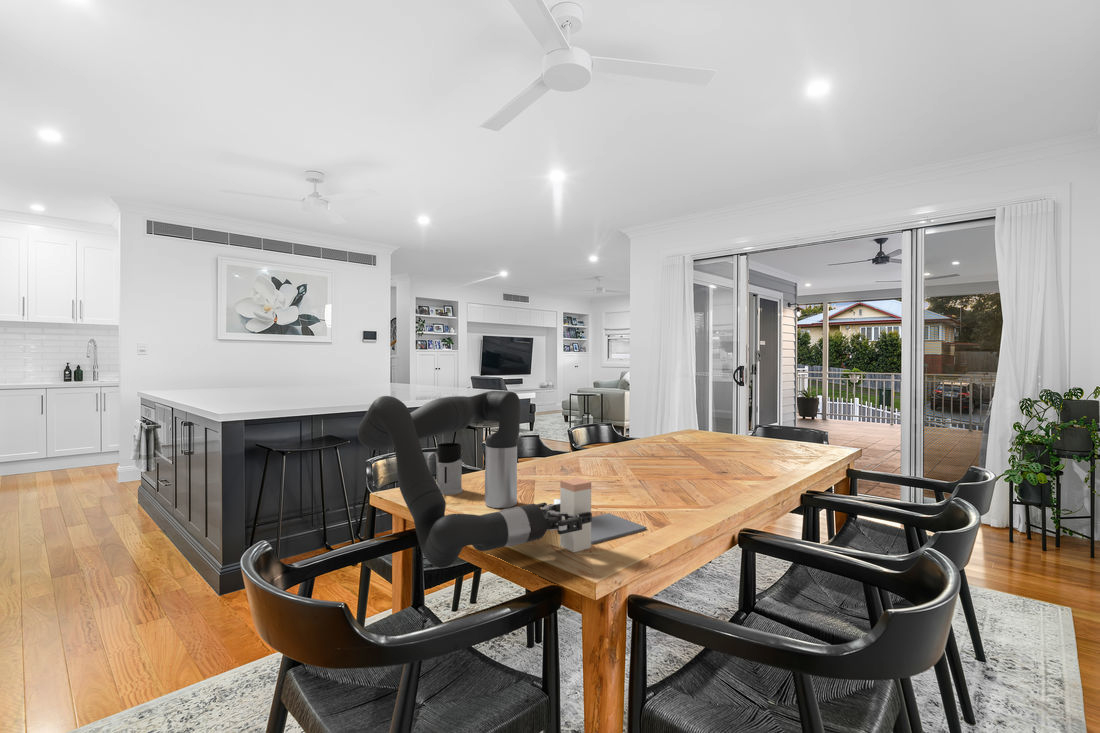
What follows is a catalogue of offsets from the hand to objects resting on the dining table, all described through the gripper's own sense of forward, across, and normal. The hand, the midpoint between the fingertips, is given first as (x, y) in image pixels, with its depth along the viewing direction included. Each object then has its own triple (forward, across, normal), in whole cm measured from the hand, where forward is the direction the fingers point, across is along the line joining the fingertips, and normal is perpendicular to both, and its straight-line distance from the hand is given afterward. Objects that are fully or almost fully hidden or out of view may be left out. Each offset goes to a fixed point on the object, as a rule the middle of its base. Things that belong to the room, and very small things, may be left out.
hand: (578, 511), depth 117 cm
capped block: (-1, 0, -8) cm, 8 cm away
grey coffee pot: (-7, -60, -8) cm, 61 cm away
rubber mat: (+12, -6, -8) cm, 16 cm away
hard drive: (+16, -25, -9) cm, 31 cm away
